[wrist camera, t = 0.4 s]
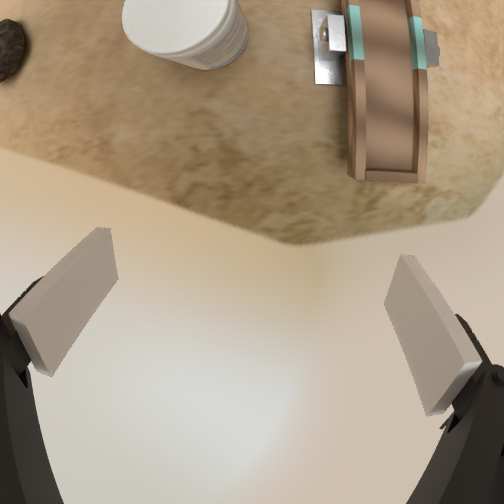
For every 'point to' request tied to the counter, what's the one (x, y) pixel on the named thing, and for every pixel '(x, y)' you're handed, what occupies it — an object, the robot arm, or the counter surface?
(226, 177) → the counter surface
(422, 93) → the beam
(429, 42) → the stand
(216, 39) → the supplement tub
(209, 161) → the counter surface
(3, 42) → the rock
